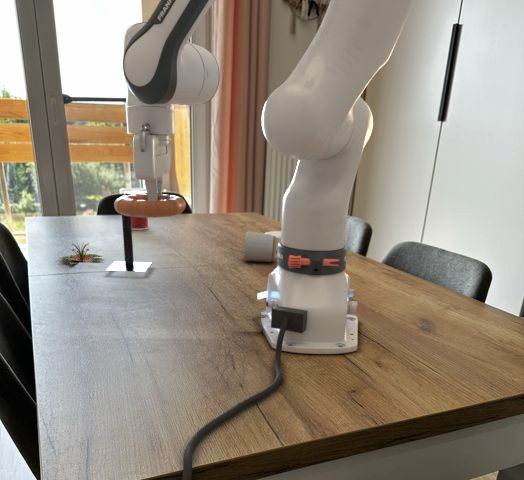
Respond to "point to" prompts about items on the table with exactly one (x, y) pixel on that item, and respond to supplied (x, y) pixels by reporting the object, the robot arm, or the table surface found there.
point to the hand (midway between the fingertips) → (155, 200)
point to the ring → (149, 205)
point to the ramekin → (278, 236)
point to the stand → (128, 251)
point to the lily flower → (81, 256)
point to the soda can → (138, 222)
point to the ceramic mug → (260, 247)
